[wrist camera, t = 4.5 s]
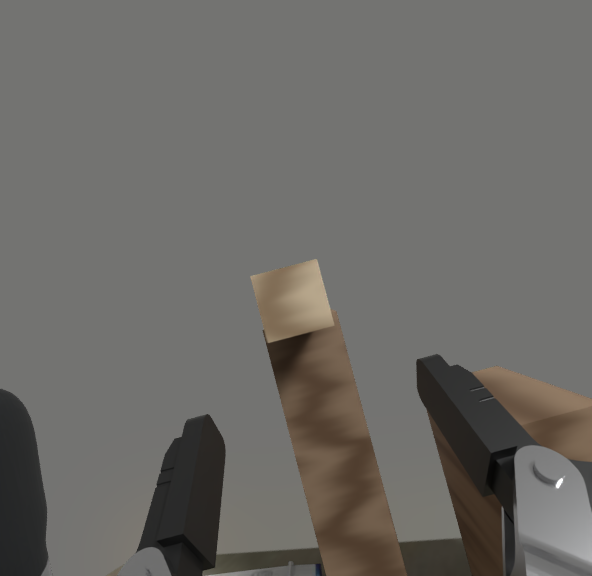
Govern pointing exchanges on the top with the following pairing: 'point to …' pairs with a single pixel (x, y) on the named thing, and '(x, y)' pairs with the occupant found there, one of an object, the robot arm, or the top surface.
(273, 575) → the white tube with head
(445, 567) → the top surface
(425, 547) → the top surface
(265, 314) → the oak rail
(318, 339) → the walnut post
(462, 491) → the low walnut block
